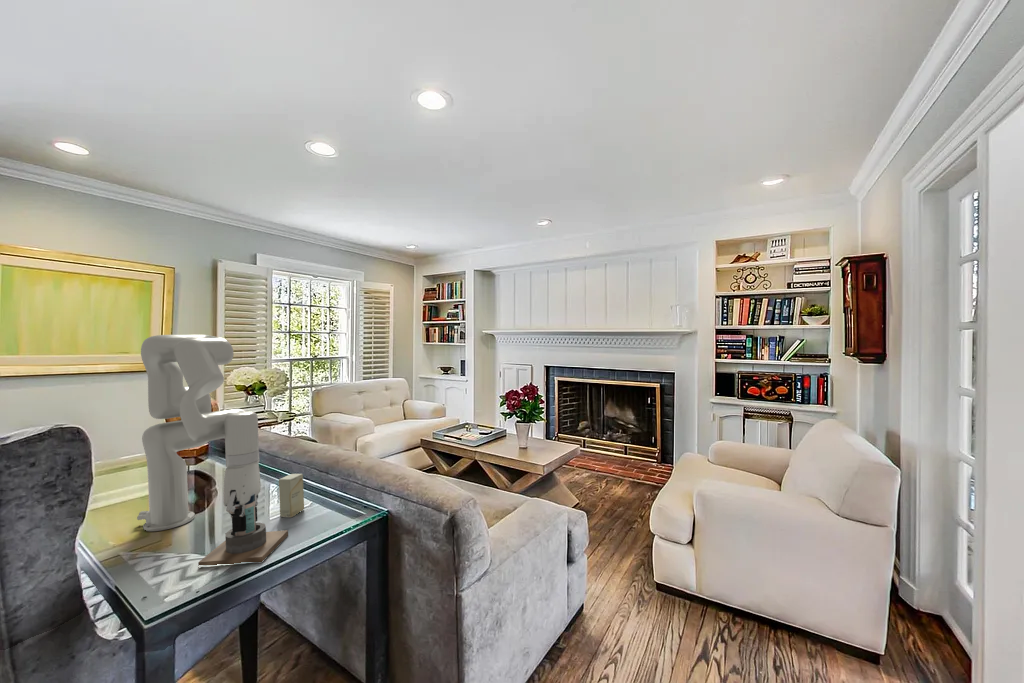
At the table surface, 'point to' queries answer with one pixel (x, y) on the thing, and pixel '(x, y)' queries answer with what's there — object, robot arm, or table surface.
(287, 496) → the skincare box
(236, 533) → the beer can
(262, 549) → the can holder
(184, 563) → the table surface
